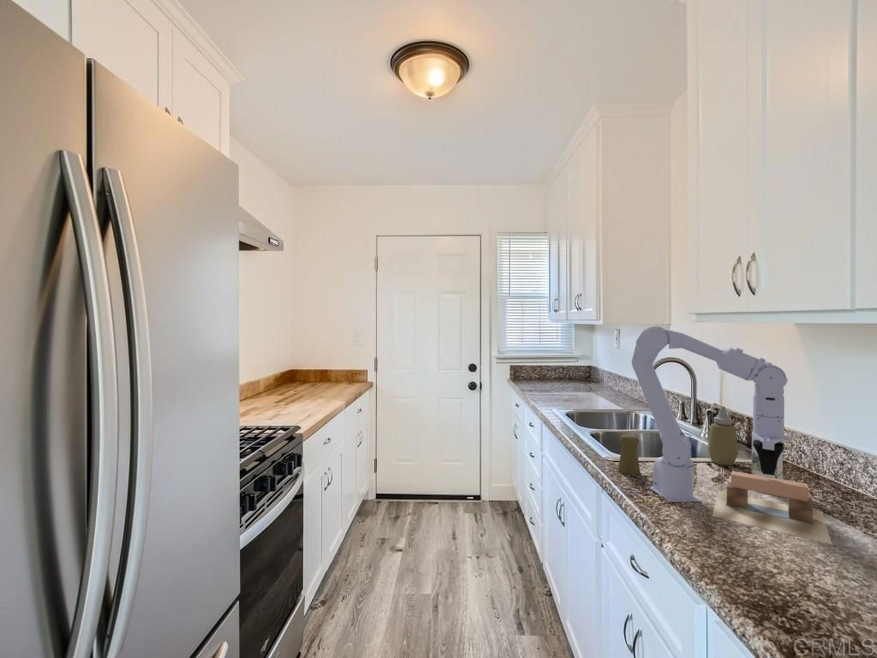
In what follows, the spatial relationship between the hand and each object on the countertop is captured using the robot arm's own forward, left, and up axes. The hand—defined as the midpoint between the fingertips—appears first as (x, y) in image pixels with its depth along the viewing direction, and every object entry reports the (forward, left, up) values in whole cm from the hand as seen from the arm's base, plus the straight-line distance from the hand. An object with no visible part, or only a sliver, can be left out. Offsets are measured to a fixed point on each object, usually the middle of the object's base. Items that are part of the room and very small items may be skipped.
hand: (767, 473), depth 99 cm
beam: (0, 0, -4) cm, 4 cm away
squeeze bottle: (-34, +17, -10) cm, 39 cm away
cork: (-30, -17, -10) cm, 36 cm away
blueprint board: (+2, -1, -9) cm, 10 cm away
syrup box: (-13, +12, -10) cm, 20 cm away
